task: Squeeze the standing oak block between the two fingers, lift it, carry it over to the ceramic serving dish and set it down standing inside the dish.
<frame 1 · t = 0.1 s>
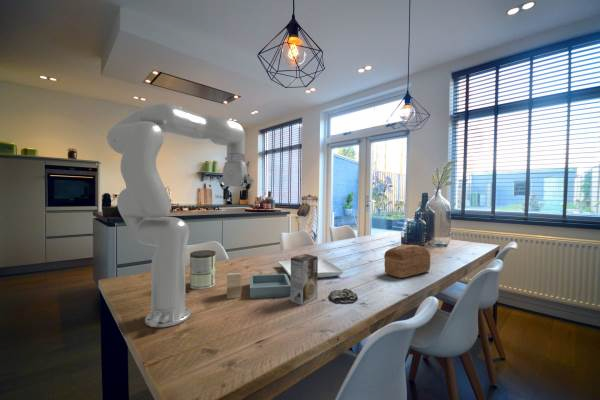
hand: (235, 199, 111), 37 cm above the table, tool pointing down, fingers open, 9 cm apart
bread: (407, 273, 134), on the table
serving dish: (269, 289, 107), on the table
square plate: (309, 273, 134), on the table
dark grey coiled lump: (342, 299, 99), on the table
coffee can: (202, 285, 111), on the table
oak block: (234, 295, 100), on the table
coffee box: (303, 300, 97), on the table
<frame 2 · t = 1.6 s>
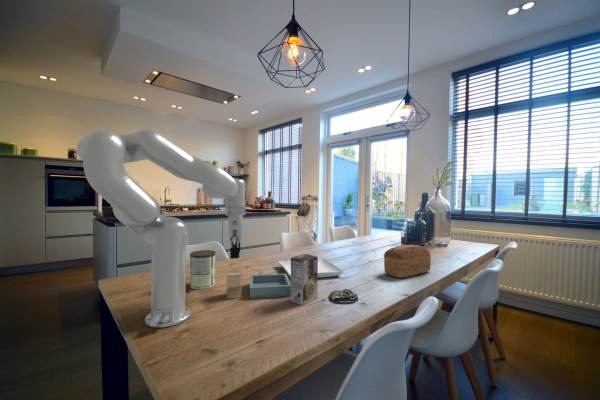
hand: (235, 255, 101), 16 cm above the table, tool pointing down, fingers open, 9 cm apart
nothing on the table moved.
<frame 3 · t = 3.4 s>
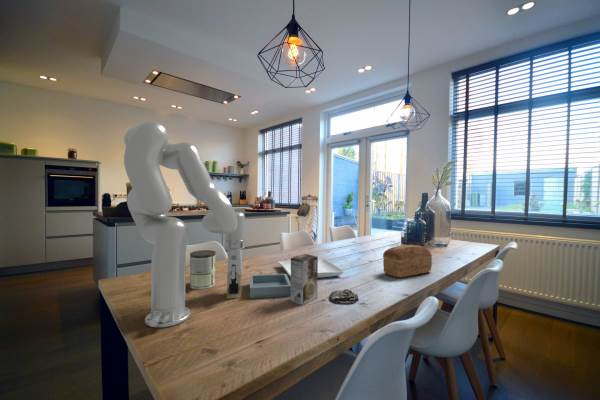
hand: (234, 290, 100), 2 cm above the table, tool pointing down, fingers closed on oak block, 5 cm apart
oak block: (234, 295, 100), on the table, touching gripper
everything else where it was.
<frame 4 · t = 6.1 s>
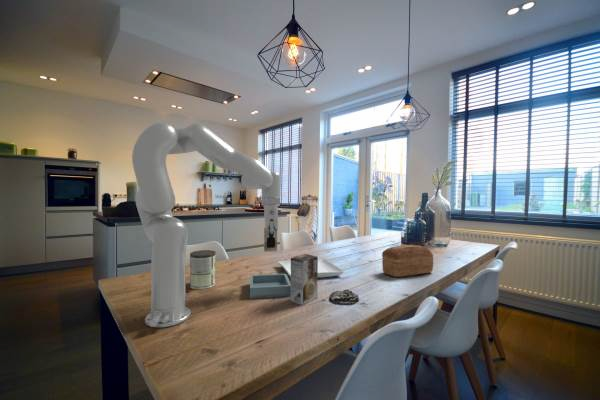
hand: (270, 245, 107), 18 cm above the table, tool pointing down, fingers closed on oak block, 5 cm apart
oak block: (270, 250, 107), point 16 cm above the table, touching gripper
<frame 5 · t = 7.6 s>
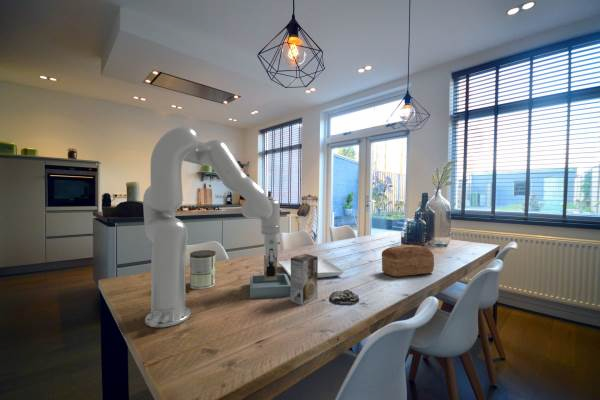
hand: (270, 273, 107), 7 cm above the table, tool pointing down, fingers closed on oak block, 5 cm apart
oak block: (270, 278, 107), point 5 cm above the table, touching gripper
when the fingers open (4 cm above the table, at t = 8.9 s): oak block drops 1 cm, resting on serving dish.
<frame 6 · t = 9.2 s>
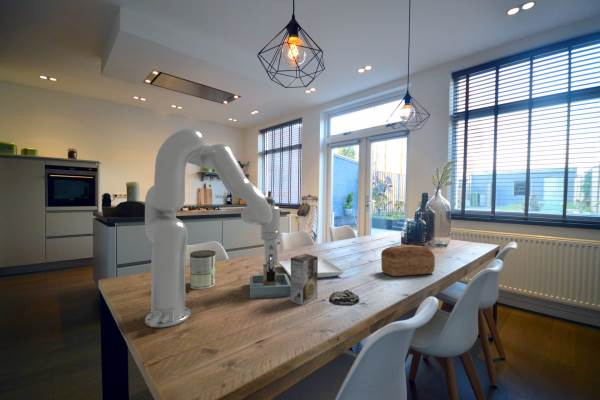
hand: (269, 277, 107), 5 cm above the table, tool pointing down, fingers open, 8 cm apart
oak block: (269, 287, 107), point 1 cm above the table, touching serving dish
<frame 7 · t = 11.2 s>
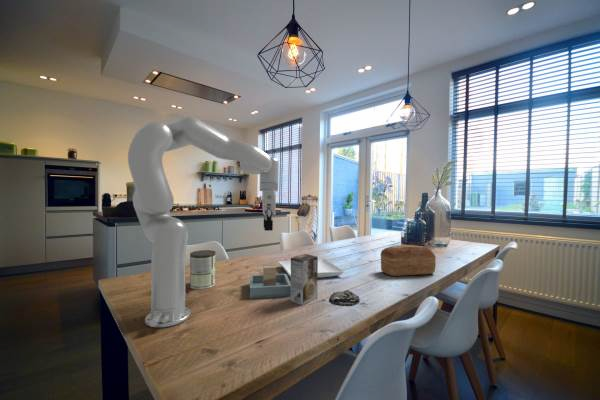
hand: (267, 229, 107), 25 cm above the table, tool pointing down, fingers open, 9 cm apart
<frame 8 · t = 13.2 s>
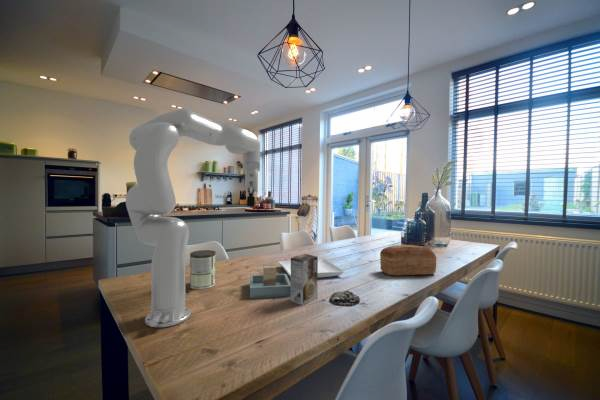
hand: (250, 205, 115), 34 cm above the table, tool pointing down, fingers open, 9 cm apart
at the end: oak block inside the target area on the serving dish (0.1 cm from its centre), point 1.0 cm above the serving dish's base; oak block tilted 0°; the gripper is holding nothing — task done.
